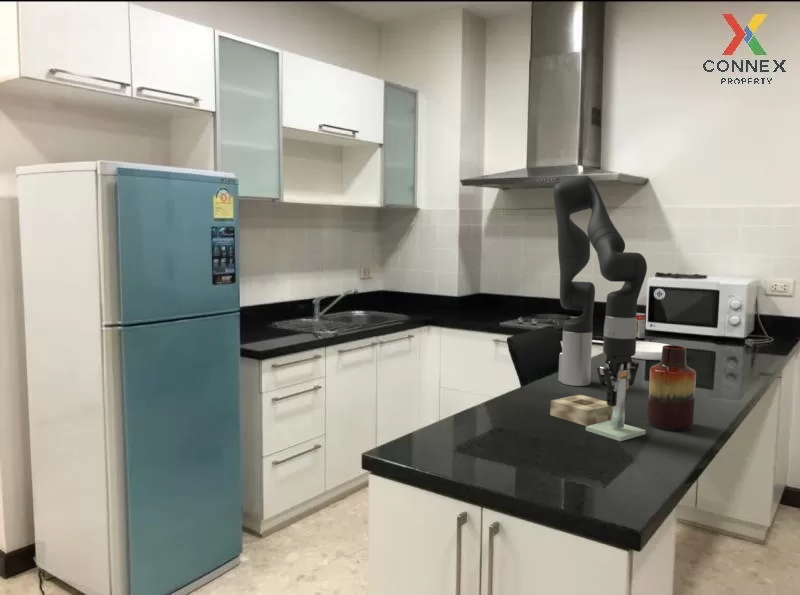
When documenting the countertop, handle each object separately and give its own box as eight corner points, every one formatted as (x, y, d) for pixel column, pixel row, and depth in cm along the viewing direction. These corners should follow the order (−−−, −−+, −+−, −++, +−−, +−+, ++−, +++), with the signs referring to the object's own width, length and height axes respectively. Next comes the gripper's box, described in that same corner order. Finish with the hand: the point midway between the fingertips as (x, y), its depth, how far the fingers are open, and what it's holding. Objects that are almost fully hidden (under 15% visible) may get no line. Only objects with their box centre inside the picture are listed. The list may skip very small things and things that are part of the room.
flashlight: (615, 428, 155) (618, 371, 154) (607, 424, 159) (610, 368, 157) (627, 427, 156) (630, 370, 155) (619, 423, 159) (622, 367, 158)
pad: (585, 430, 159) (585, 426, 159) (610, 423, 165) (610, 420, 165) (620, 441, 151) (620, 437, 151) (645, 434, 157) (645, 430, 157)
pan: (675, 364, 244) (676, 353, 244) (573, 354, 264) (573, 343, 263) (683, 354, 266) (684, 344, 265) (588, 345, 285) (588, 335, 285)
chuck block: (550, 415, 172) (550, 400, 172) (579, 408, 179) (579, 394, 179) (586, 426, 162) (587, 410, 162) (616, 419, 169) (616, 404, 169)
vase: (652, 430, 160) (657, 349, 158) (642, 418, 171) (646, 342, 169) (698, 432, 159) (703, 351, 157) (685, 420, 169) (690, 344, 167)
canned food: (632, 337, 309) (633, 312, 308) (647, 339, 303) (648, 314, 302) (623, 338, 304) (624, 313, 303) (638, 340, 298) (639, 315, 297)
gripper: (615, 339, 148) (611, 412, 150) (650, 334, 157) (647, 404, 158) (588, 335, 155) (585, 405, 156) (624, 330, 163) (620, 397, 164)
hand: (616, 404), depth 157 cm, fingers closed on flashlight, 3 cm apart
